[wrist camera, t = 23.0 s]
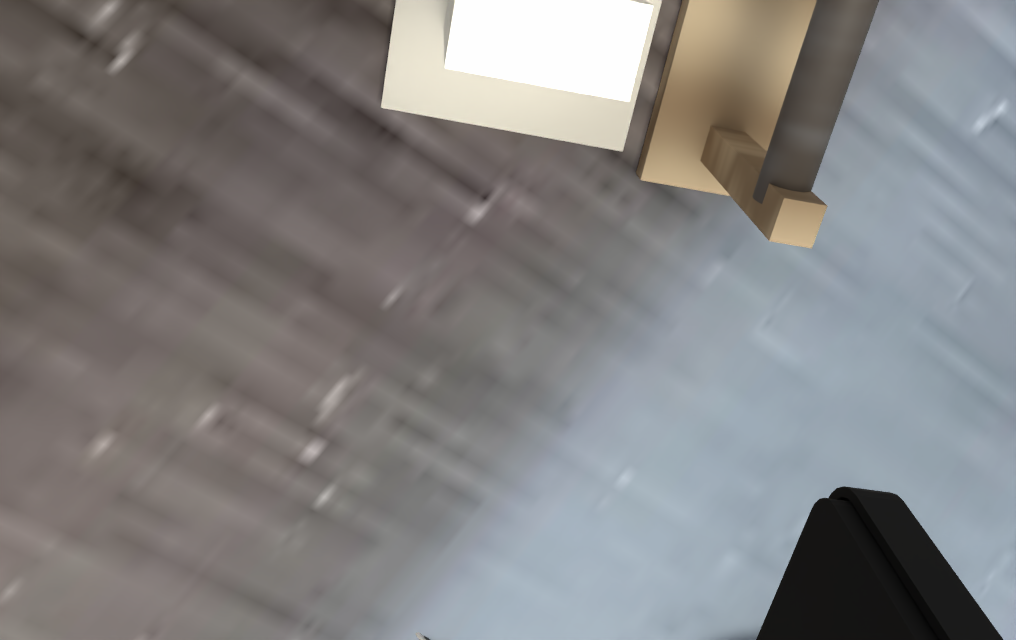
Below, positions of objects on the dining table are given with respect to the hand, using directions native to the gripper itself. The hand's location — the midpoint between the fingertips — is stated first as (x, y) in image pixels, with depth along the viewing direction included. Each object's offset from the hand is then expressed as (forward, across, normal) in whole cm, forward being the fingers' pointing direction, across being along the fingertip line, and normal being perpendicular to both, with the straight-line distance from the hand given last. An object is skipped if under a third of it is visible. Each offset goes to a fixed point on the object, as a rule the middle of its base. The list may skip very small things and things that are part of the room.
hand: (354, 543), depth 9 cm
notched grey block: (+30, -4, -2) cm, 30 cm away
